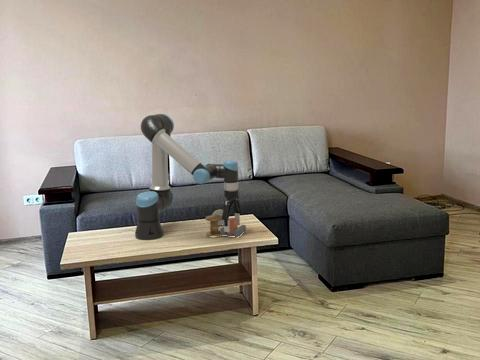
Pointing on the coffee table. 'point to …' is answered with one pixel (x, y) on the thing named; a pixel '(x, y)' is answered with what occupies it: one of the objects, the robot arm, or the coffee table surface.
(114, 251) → the coffee table surface
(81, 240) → the coffee table surface
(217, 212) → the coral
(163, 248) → the coffee table surface
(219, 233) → the spool
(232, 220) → the salmon pink block
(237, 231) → the notched board
